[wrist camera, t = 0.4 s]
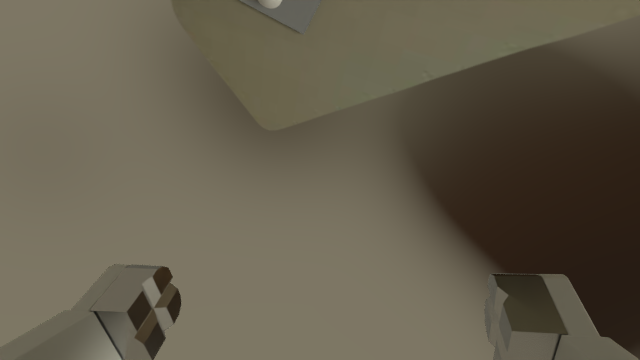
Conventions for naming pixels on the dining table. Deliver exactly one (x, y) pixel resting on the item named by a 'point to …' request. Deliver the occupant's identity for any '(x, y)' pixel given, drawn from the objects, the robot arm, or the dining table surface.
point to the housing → (287, 11)
